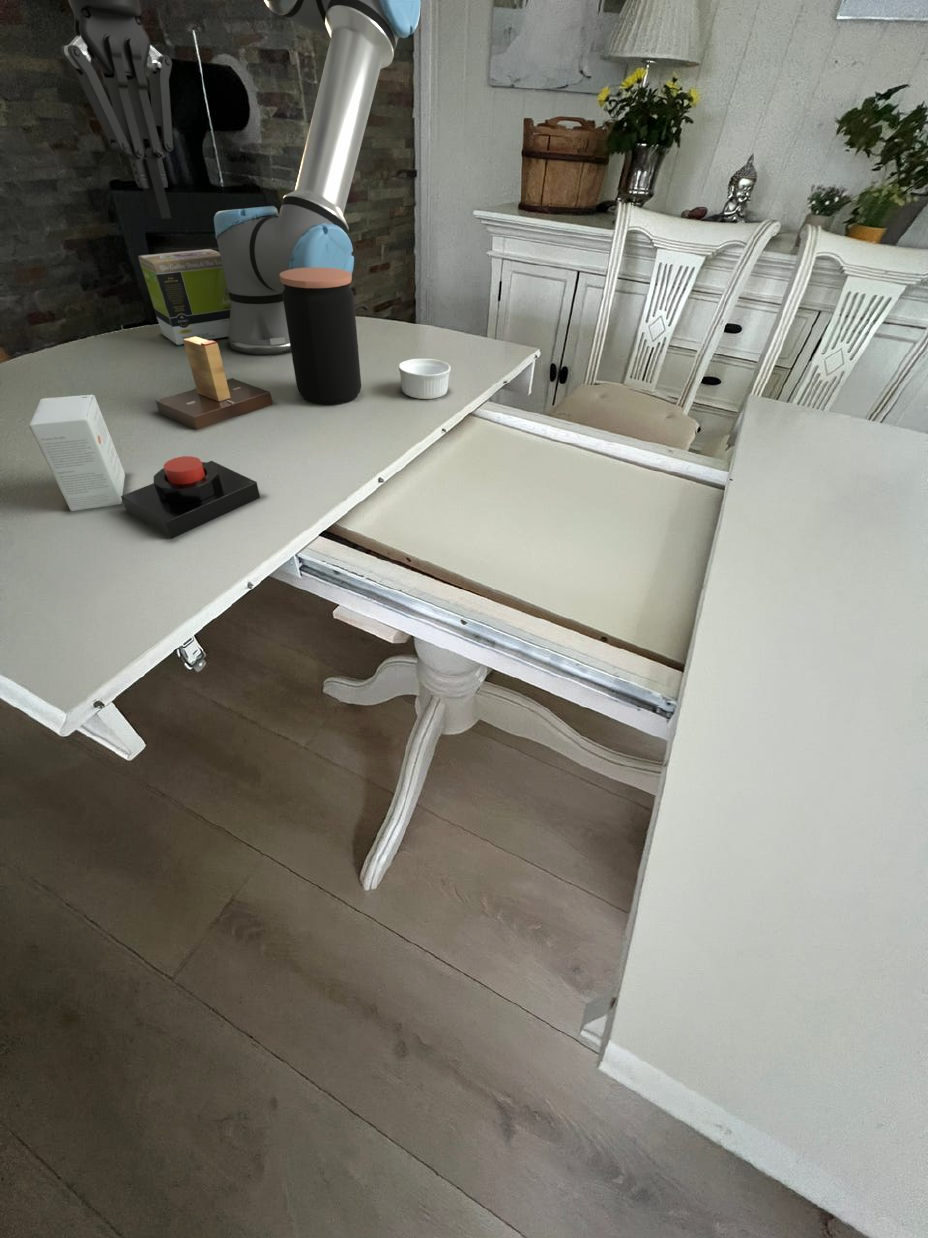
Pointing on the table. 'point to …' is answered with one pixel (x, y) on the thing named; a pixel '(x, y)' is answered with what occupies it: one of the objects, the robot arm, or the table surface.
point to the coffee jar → (322, 334)
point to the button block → (190, 499)
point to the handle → (207, 368)
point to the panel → (213, 405)
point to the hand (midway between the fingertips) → (161, 217)
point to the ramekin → (424, 378)
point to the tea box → (188, 294)
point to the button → (184, 470)
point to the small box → (79, 451)
